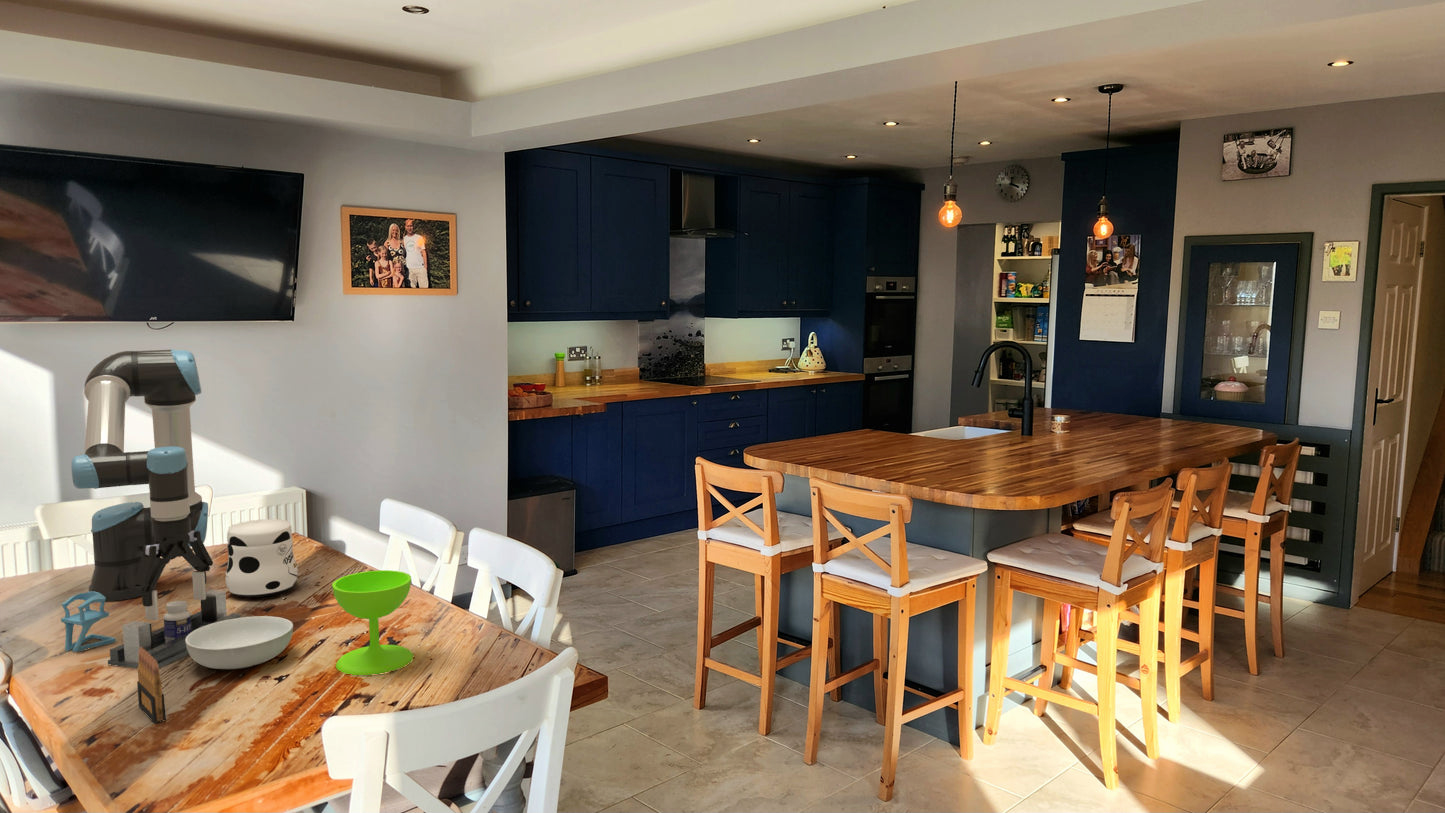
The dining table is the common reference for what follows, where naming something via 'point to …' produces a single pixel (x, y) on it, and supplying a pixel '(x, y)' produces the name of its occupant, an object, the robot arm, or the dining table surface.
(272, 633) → the serving bowl
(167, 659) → the rail
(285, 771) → the dining table surface
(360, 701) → the dining table surface
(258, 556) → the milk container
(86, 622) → the chair
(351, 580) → the wineglass
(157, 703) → the ammunition clip
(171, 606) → the pill bottle
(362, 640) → the dining table surface
